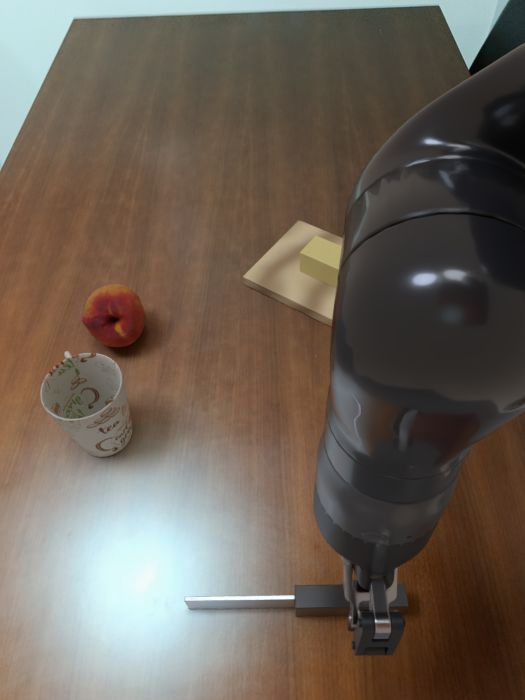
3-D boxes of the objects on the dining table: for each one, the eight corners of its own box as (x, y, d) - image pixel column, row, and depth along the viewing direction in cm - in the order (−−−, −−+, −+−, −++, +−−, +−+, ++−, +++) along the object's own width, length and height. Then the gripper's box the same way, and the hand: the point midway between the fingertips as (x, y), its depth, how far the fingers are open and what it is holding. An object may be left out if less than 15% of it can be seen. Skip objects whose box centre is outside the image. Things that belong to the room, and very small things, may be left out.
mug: (87, 480, 63) (57, 434, 55) (46, 401, 70) (14, 350, 62) (155, 441, 66) (136, 392, 58) (109, 368, 73) (86, 316, 65)
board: (435, 284, 79) (437, 276, 78) (385, 353, 72) (387, 345, 71) (298, 227, 87) (298, 219, 86) (243, 284, 80) (242, 276, 79)
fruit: (83, 356, 74) (63, 315, 68) (102, 309, 79) (85, 266, 73) (142, 361, 73) (128, 320, 67) (158, 313, 78) (146, 270, 72)
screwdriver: (400, 592, 55) (405, 583, 52) (404, 615, 54) (408, 606, 51) (189, 595, 55) (184, 586, 53) (188, 618, 54) (183, 609, 52)
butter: (352, 270, 79) (354, 251, 76) (337, 288, 77) (338, 269, 74) (315, 254, 81) (315, 235, 79) (299, 271, 79) (299, 252, 77)
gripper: (476, 610, 29) (418, 669, 41) (426, 374, 37) (391, 483, 50) (323, 611, 29) (313, 669, 42) (309, 376, 38) (304, 484, 50)
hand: (356, 567), depth 46 cm, fingers open, 8 cm apart
